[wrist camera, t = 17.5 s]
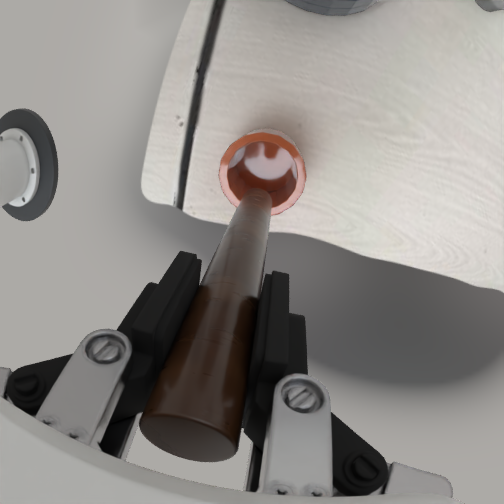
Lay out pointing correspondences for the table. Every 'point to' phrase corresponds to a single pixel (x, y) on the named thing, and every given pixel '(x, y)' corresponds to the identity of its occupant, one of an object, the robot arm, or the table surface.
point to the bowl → (333, 6)
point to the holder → (264, 168)
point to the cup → (491, 4)
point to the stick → (214, 347)
